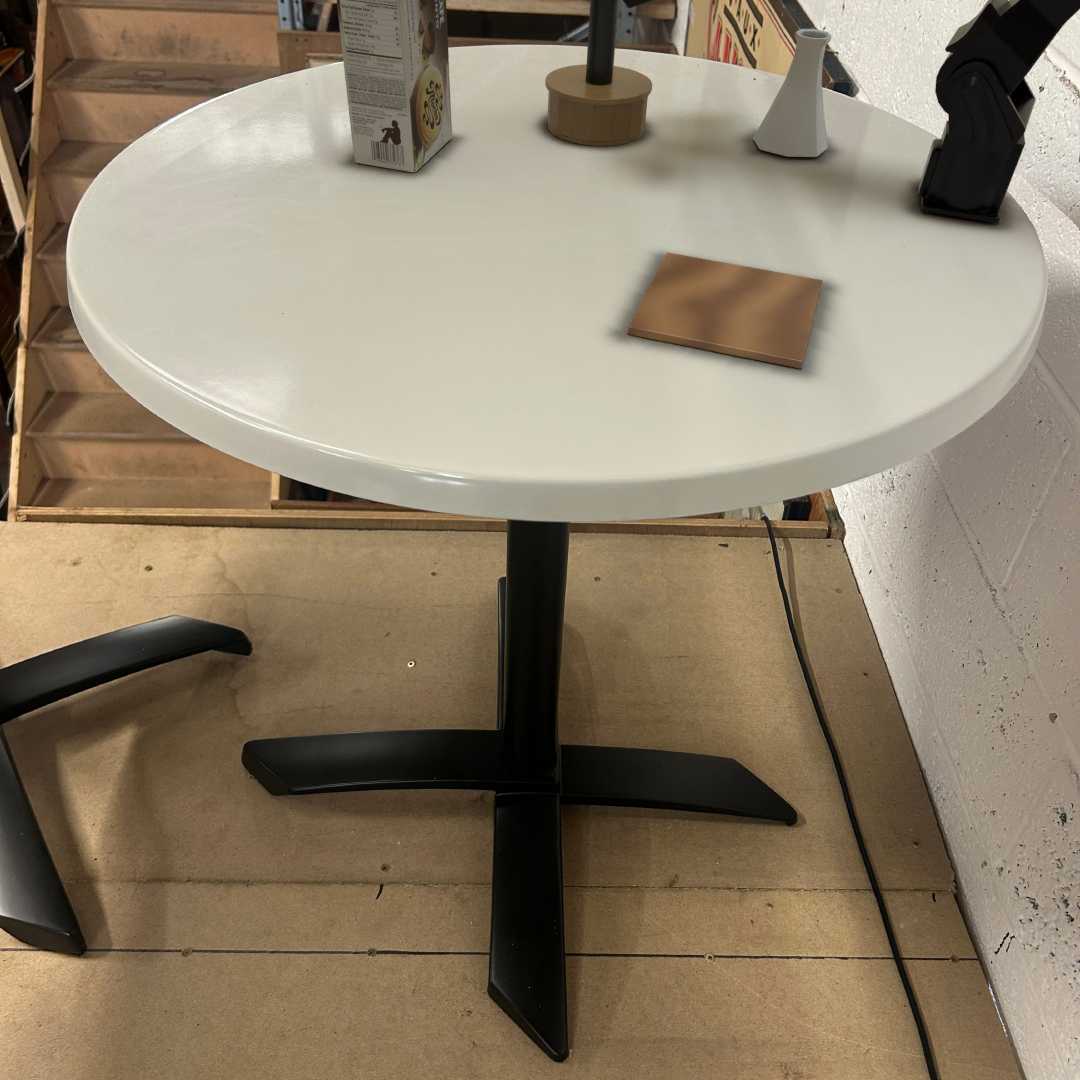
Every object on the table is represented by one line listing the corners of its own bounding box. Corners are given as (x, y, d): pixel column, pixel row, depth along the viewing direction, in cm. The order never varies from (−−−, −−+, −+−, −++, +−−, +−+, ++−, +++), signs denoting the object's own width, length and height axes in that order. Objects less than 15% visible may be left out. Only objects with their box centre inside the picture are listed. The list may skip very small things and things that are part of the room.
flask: (828, 137, 92) (855, 27, 85) (825, 164, 87) (853, 49, 80) (756, 128, 93) (776, 18, 86) (748, 154, 88) (769, 40, 81)
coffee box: (393, 129, 90) (377, -64, 79) (454, 139, 88) (447, -57, 77) (351, 163, 83) (327, -42, 72) (416, 174, 82) (402, -34, 71)
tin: (653, 119, 94) (657, 78, 91) (629, 152, 87) (633, 109, 85) (564, 105, 96) (566, 65, 93) (534, 137, 89) (535, 95, 87)
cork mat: (820, 287, 69) (822, 279, 69) (801, 369, 61) (803, 361, 60) (666, 259, 72) (666, 251, 71) (627, 334, 63) (628, 326, 63)
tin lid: (661, 84, 92) (673, -20, 86) (636, 118, 85) (647, 7, 78) (563, 70, 94) (568, -32, 88) (530, 102, 87) (532, -7, 81)
